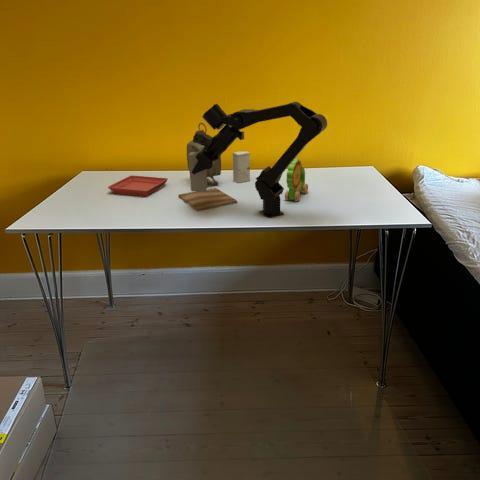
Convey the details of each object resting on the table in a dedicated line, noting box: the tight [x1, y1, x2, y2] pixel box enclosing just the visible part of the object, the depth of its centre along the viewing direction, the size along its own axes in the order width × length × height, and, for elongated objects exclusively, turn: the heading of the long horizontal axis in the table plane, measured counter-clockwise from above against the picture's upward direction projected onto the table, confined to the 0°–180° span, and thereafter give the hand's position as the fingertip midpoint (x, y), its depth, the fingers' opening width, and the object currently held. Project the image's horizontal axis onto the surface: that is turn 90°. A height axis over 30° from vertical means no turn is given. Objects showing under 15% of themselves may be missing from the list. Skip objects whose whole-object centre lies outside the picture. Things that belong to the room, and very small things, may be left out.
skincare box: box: [232, 150, 251, 184], centre depth 199 cm, size 6×4×12 cm
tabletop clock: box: [186, 122, 222, 186], centre depth 194 cm, size 14×9×25 cm, turn 30°
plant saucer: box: [107, 174, 168, 197], centre depth 193 cm, size 18×18×3 cm
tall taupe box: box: [188, 152, 208, 192], centre depth 167 cm, size 4×5×13 cm
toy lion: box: [284, 158, 309, 202], centre depth 177 cm, size 16×5×15 cm, turn 155°
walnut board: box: [178, 187, 238, 212], centre depth 179 cm, size 18×16×1 cm
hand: (194, 171), depth 167 cm, fingers closed on tall taupe box, 4 cm apart
